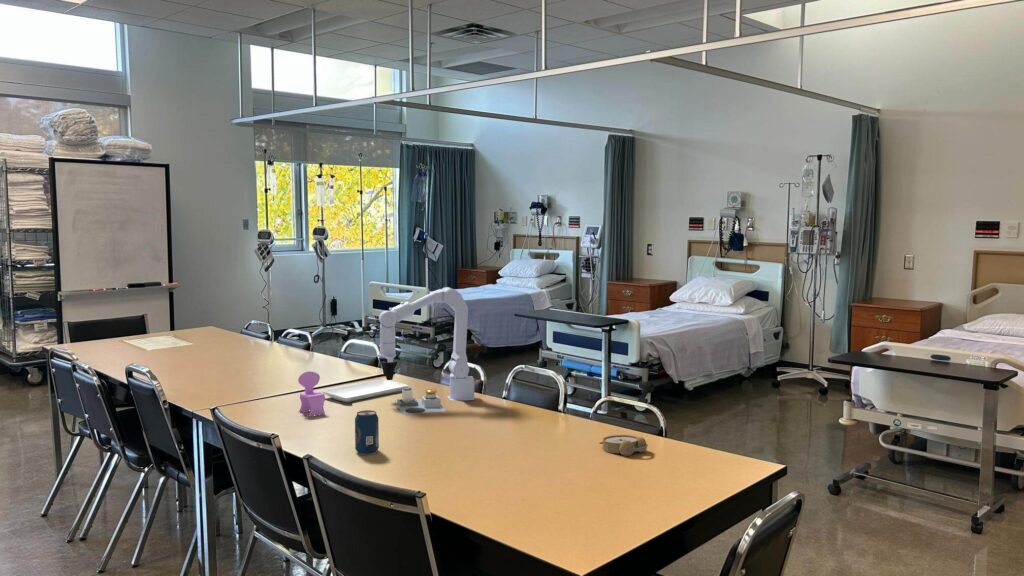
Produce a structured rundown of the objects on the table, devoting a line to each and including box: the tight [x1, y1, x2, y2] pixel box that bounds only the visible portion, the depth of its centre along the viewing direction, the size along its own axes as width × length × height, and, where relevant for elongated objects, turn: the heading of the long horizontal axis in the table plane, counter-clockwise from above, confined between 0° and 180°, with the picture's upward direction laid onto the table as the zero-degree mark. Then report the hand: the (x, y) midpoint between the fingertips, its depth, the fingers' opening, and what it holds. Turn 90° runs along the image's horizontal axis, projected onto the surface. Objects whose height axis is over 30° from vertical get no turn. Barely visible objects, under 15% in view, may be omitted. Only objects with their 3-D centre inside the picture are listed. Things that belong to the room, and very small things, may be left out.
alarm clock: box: [598, 434, 649, 457], centre depth 226 cm, size 11×5×15 cm
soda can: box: [354, 409, 380, 456], centre depth 223 cm, size 7×7×12 cm
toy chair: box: [297, 370, 326, 417], centre depth 268 cm, size 8×9×15 cm
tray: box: [321, 378, 410, 404], centre depth 298 cm, size 17×32×4 cm, turn 138°
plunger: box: [424, 388, 437, 399], centre depth 278 cm, size 4×4×4 cm
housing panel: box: [394, 395, 448, 415], centre depth 278 cm, size 16×22×4 cm
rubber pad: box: [406, 408, 425, 414], centre depth 271 cm, size 7×7×1 cm
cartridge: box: [401, 386, 414, 403], centre depth 281 cm, size 4×4×6 cm
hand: (388, 377), depth 283 cm, fingers open, 7 cm apart
